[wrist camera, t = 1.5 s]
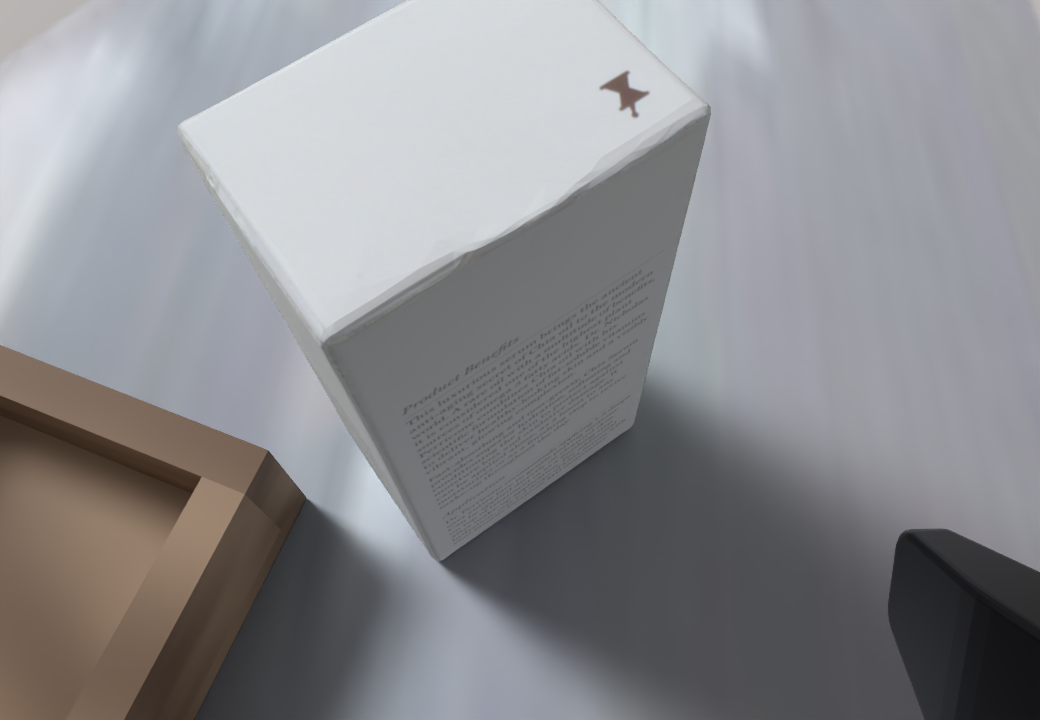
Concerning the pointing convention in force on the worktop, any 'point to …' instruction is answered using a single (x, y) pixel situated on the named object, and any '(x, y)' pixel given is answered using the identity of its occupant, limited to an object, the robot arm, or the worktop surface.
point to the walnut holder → (123, 548)
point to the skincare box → (465, 237)
